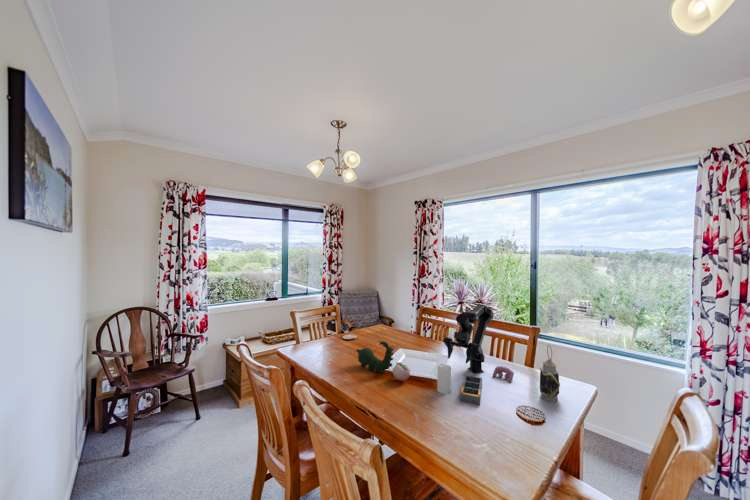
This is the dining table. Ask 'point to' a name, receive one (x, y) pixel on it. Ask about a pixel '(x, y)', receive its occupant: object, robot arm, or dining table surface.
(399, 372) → the decorative fruit
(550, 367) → the lantern
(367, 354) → the toy figurine
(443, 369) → the light grey block
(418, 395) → the dining table surface
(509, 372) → the video game controller
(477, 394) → the rack
